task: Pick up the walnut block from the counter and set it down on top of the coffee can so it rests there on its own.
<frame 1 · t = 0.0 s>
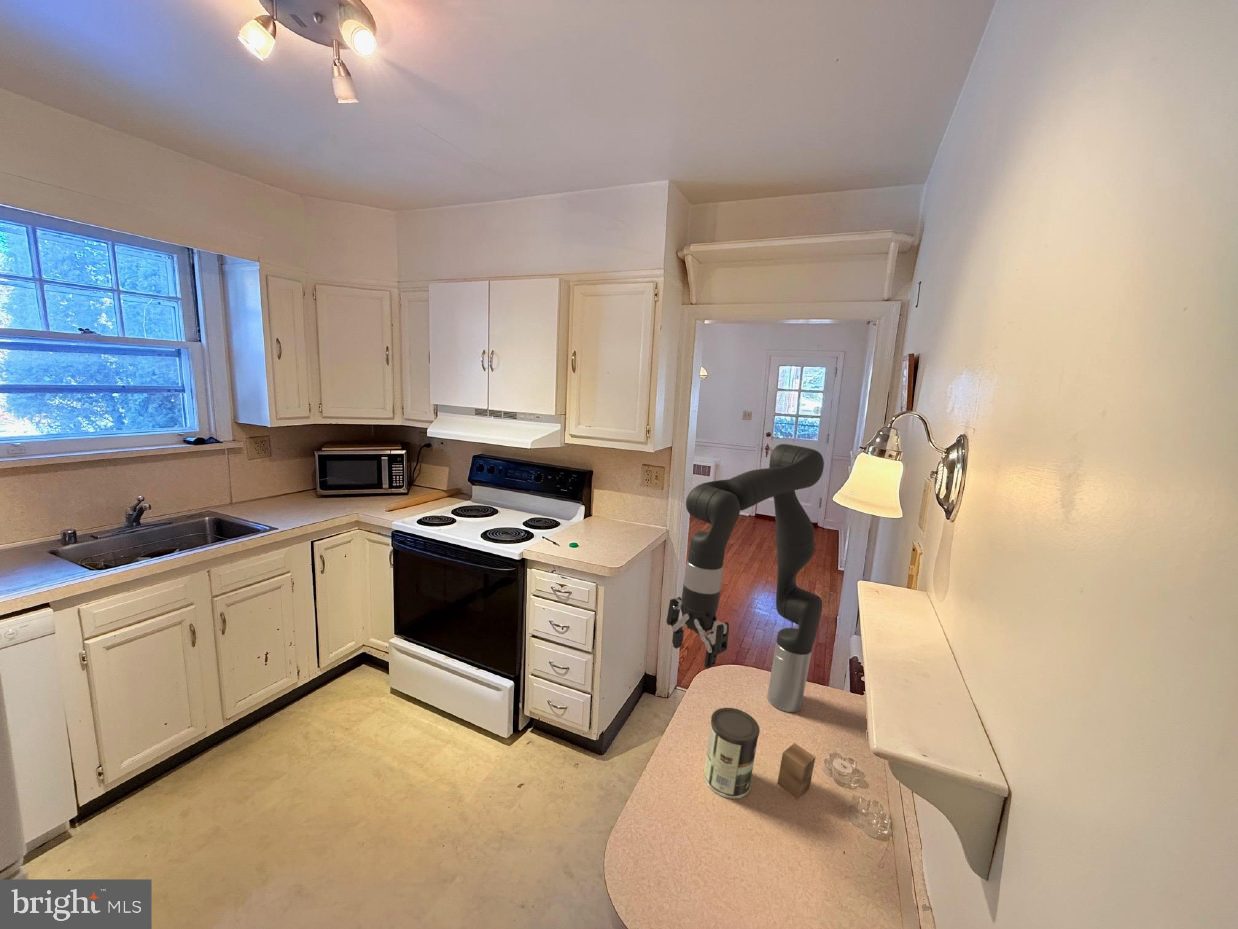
hand: (692, 656, 101), 29 cm above the counter, fingers open, 8 cm apart
coffee can: (726, 780, 108), on the counter
walnut block: (793, 786, 108), on the counter
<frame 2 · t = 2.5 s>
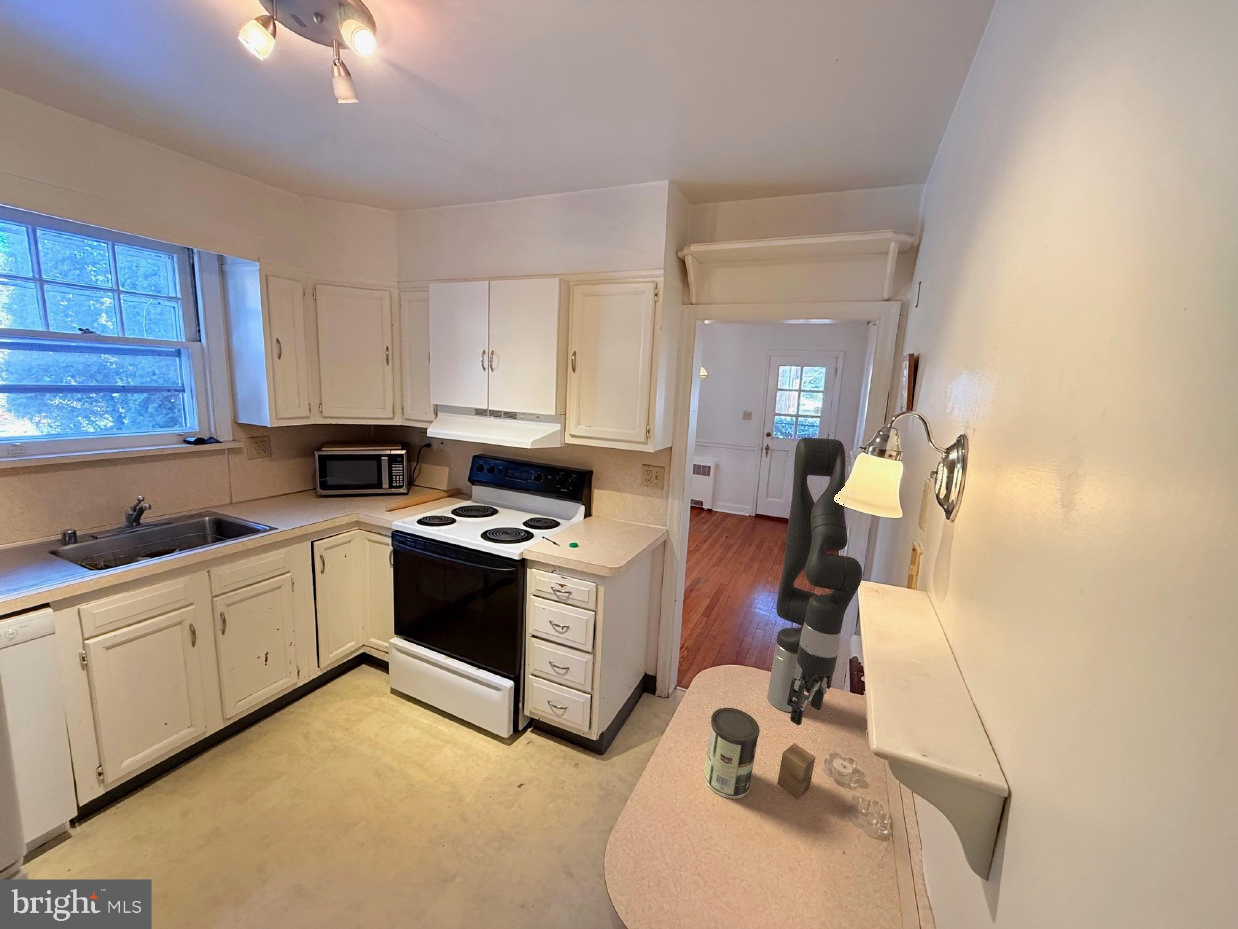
hand: (805, 715, 104), 18 cm above the counter, fingers open, 8 cm apart
nothing on the counter moved.
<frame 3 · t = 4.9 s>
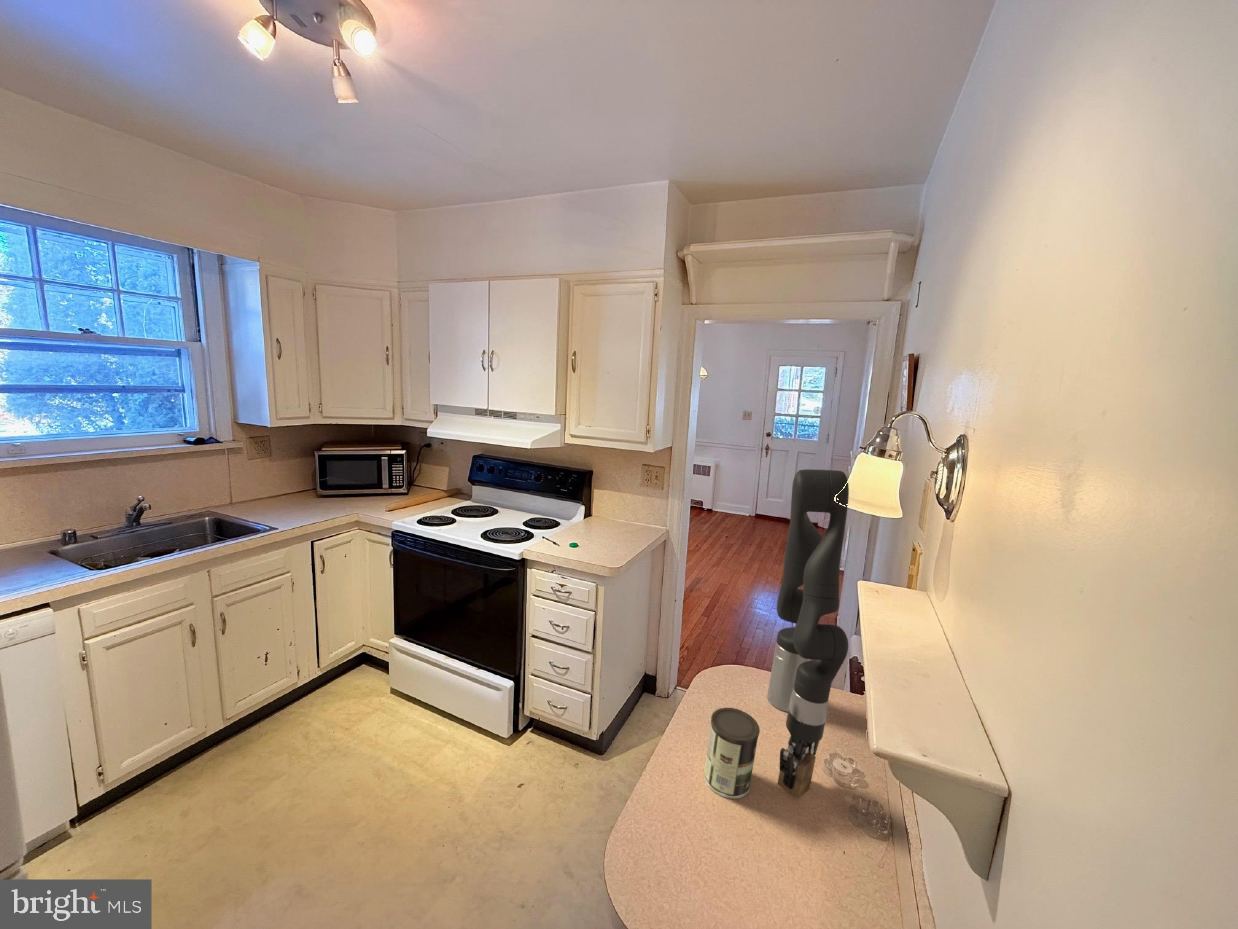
hand: (794, 779, 107), 2 cm above the counter, fingers closed on walnut block, 5 cm apart
walnut block: (793, 786, 108), on the counter, touching gripper
everything else where it was.
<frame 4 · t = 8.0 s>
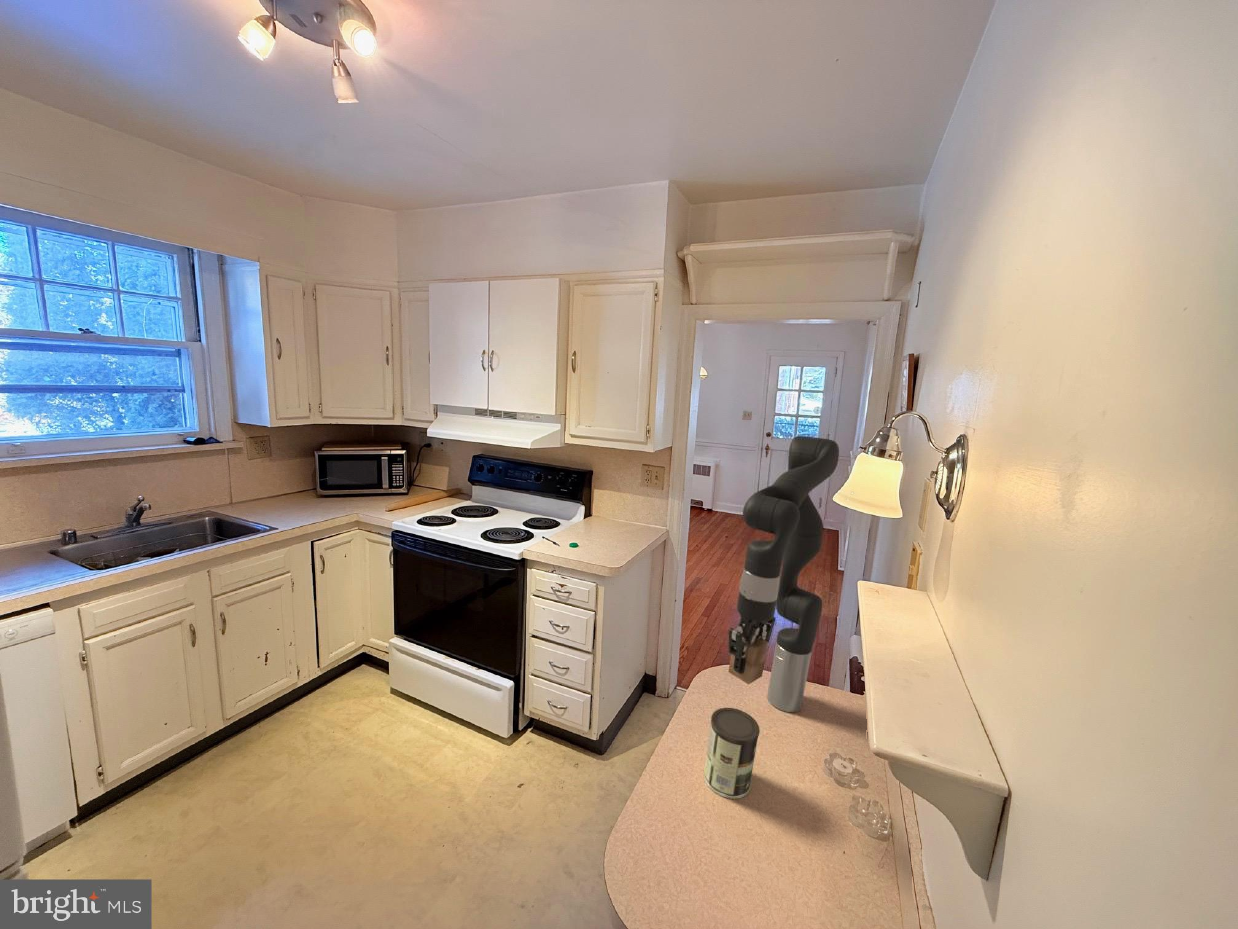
hand: (746, 667, 103), 28 cm above the counter, fingers closed on walnut block, 5 cm apart
walnut block: (745, 674, 103), point 26 cm above the counter, touching gripper
everything else where it was.
when the fingers open (16 cm above the counter, at t = 11.0 s): walnut block stays where it is, resting on coffee can.
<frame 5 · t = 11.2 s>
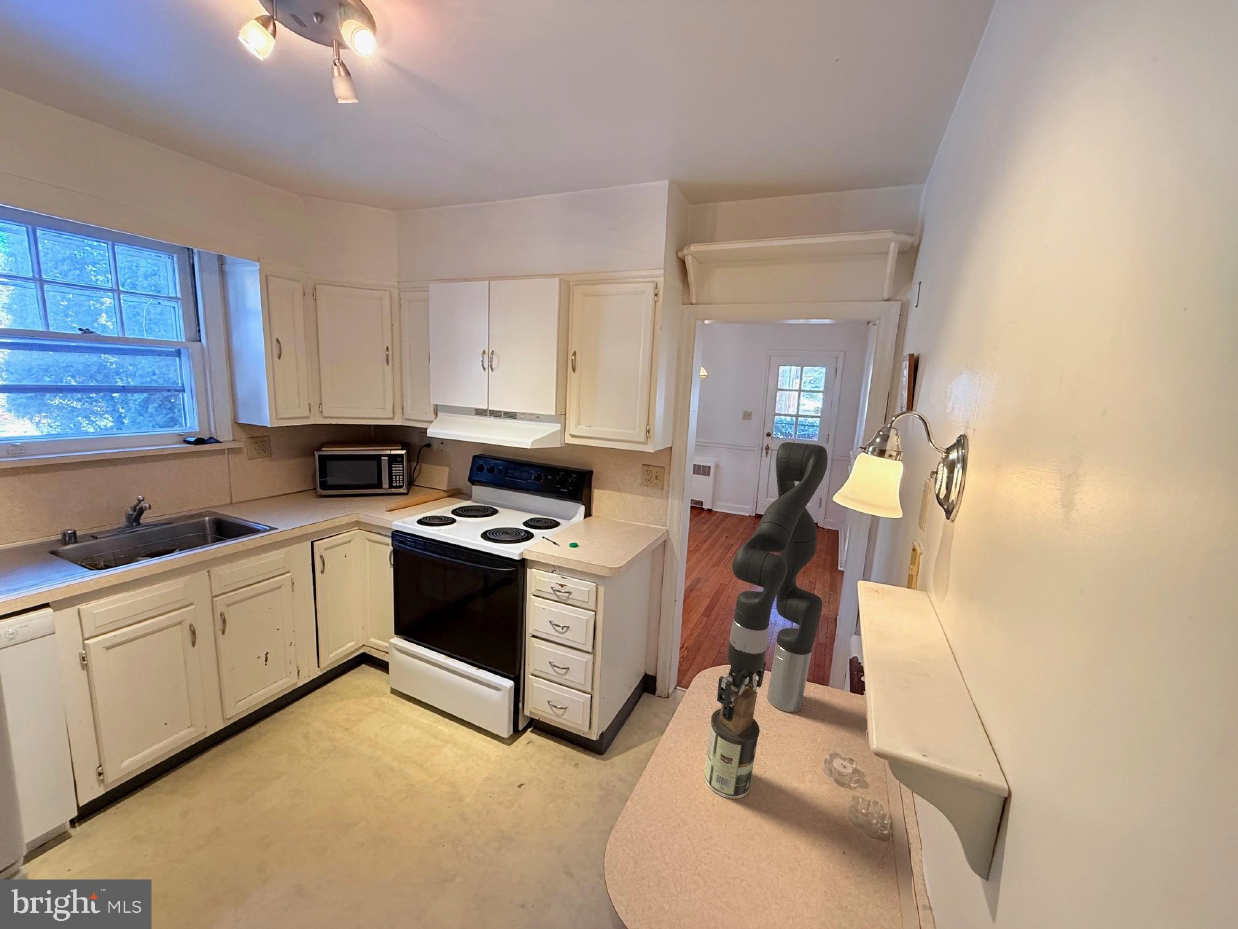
hand: (736, 712, 105), 17 cm above the counter, fingers open, 6 cm apart
coffee can: (726, 780, 108), on the counter, touching walnut block
walnut block: (735, 723, 105), point 14 cm above the counter, touching coffee can
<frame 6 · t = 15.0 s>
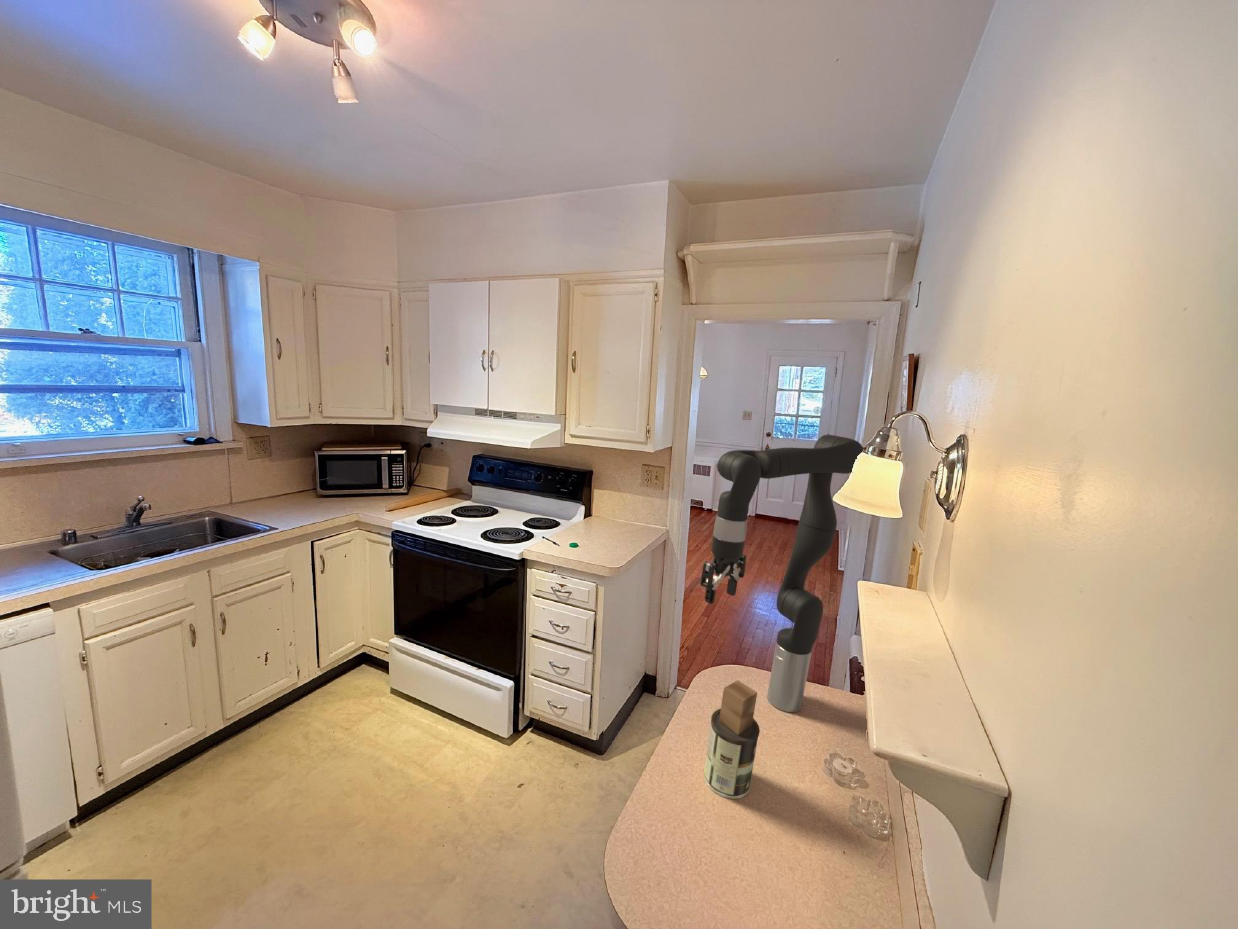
hand: (720, 598, 119), 34 cm above the counter, fingers open, 8 cm apart
nothing on the counter moved.
at the end: walnut block inside the target area on the coffee can (0.0 cm from its centre), point 14.3 cm above the coffee can's base; walnut block tilted 0°; the gripper is holding nothing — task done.
